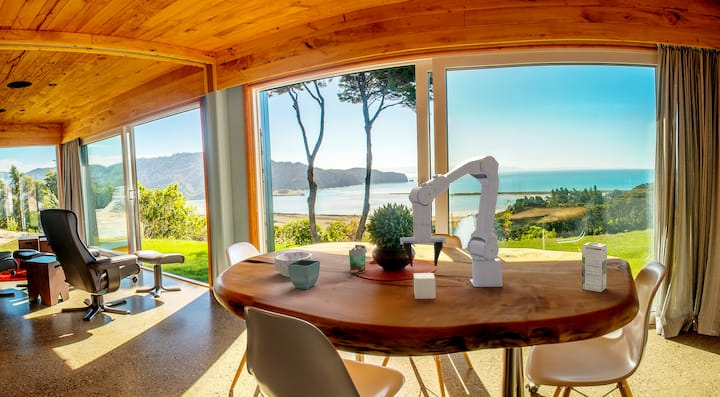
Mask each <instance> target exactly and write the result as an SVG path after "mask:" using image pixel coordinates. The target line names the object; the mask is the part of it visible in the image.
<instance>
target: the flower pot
mask: <svg viewBox="0 0 720 397" xmlns="http://www.w3.org/2000/svg"><path fill="white" fill-rule="evenodd" d="M320 265H321V260H313V259H312V260H298V261H296V262H293V263H290V264H288V271H289V276H290V277H289V280H290V281H291V284H292V285H293V287H295V289H303V290H308V289H309V288H312V287H314V286H315V285H316V283H317V281H318V279H319V275H320V269H321V268H320Z"/></svg>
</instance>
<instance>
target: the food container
mask: <svg viewBox="0 0 720 397" xmlns="http://www.w3.org/2000/svg"><path fill="white" fill-rule="evenodd" d="M367 253H368V249H367V246H365V245H362V244H355V245H354V247H353V248H352V249H349V250H348V257H349V271H350V275H356V274H355V273H359V272H363V271H365V272H366V261H367V260H366V259H367V258H366V256H367ZM363 273H364V272H363Z"/></svg>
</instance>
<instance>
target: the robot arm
mask: <svg viewBox="0 0 720 397" xmlns="http://www.w3.org/2000/svg"><path fill="white" fill-rule="evenodd" d="M499 165H500V164H499V162H498V161H497V160H496V158H495V157H494V156H493V155H490V154H489V155H484V156H471V157H469V158H467V159H465V160H463V161H461V163H459V164H458V165H457V166H455V167H454V168H452V169H451V170H450V171H448V172H446V173H445V174H441V173H439V174H438V173H437V174H436V173H435V174H433V175H432V178H431V179H429V180H427V181H426V182H425V181H424V182H422V183H421V185H420V186H415V187H413V188H412V189H411V190H410V193H409V195H408V199H409V201H410V203H411V207H412V224H413V227H412V228H413V231H412V232H413V236H407V237H405V236H403V237H400V238H399V242H400V243H399V244H400V245H403V248H404V250H405V253H406V254H407V257H408V261H409V265H410V268H411V267H413V264H414V263H413V251H412V249H413V248H412V247H413V246H412V245H417V244H418V245H419V244H423V245H424V244H433V253H434V256H433V258H434V259H433V265H434V267H437V266H438V261H439V257H440V255H441V252H442V250H443V247H444V244H447V237H446V236H437V235H436V236H435V235H434V236H433V235H432V208H431V207H432V206H431V205H432V203H433V202H434V199H436V198H437V197H439V195H441V194H443V193H444V192H446V191H447V190H449V189H450V184H452V183H454V182H455V181H457V180H458V179H460V178H463V177H464V176H466V175H469V176H471V177H472V178H474V179H475V180H477V181H478V182H479V184H481V189H480V197H479V205H478V212H477V221H476V226H475V227H476V228H475V230H474V231H473V232H471V234H470V238H469V240H468V242H467V245H466V248H467V251H468V253H469V254H470V258H471V265H472V266H471V268H472V269H471V270H472V278H470V279H469V282H470V283H471V285H472V286H473V287H475V288H478V287H480V288H483V287H484V288H485V287H487V288H488V287H489V288H490V287H495V288H496V287H498V288H499V287H503V268H502V267H503V265H502V261H501V259H500V258H498V257H497V256H498V254H499V251H500V250H499V249H500V248H499V247H500V246H499V243H498V242H499V241H498V240H499V238H498V237H497V235H496V234H495V233H494V226H495V216H496V208H497V201H498V192H499V186H500V178H499Z"/></svg>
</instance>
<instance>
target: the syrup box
mask: <svg viewBox="0 0 720 397" xmlns="http://www.w3.org/2000/svg"><path fill="white" fill-rule="evenodd" d="M581 246H582V247H581V249H582V250H581V289H582V290H585V291H592V292H598V293H602V292H603V291H605V290H606V289H607V281H608V279H607V275H608V272H607V271H608V245H607V244H606V243H600V242H590V241H589V242H586V243H584V244H582V245H581Z"/></svg>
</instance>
